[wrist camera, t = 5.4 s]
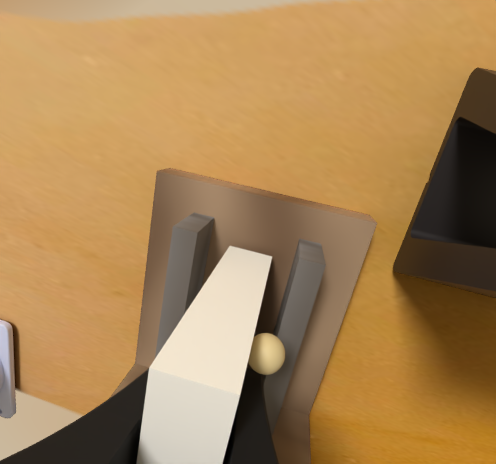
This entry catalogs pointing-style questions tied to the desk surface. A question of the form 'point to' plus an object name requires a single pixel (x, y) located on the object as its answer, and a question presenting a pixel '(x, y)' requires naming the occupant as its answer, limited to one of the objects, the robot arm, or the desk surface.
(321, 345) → the brown base with rails
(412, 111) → the desk surface
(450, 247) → the phone stand
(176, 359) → the cabinet door
